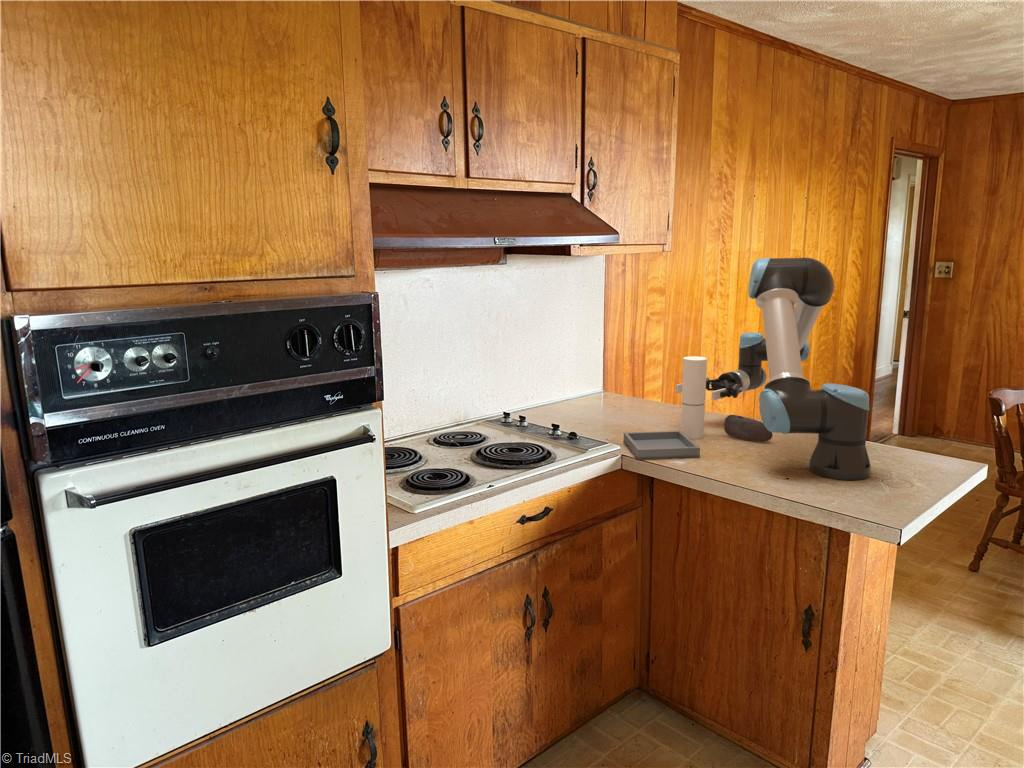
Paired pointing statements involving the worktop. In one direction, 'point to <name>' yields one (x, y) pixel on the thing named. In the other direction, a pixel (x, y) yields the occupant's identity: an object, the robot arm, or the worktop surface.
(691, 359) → the cylindrical container
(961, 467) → the worktop surface
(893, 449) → the worktop surface
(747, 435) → the perforated stone tool
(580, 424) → the worktop surface
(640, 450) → the slate tray
